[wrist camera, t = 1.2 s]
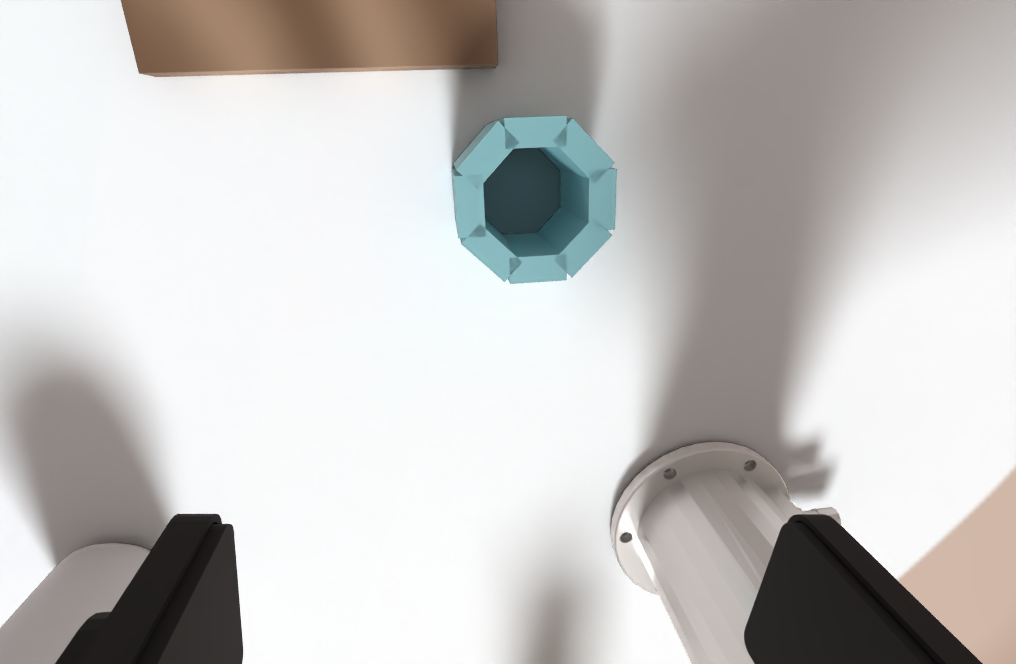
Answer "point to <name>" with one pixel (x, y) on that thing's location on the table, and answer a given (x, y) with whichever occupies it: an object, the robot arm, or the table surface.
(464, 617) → the table surface
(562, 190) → the ring
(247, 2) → the post stand
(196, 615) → the robot arm
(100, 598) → the can
